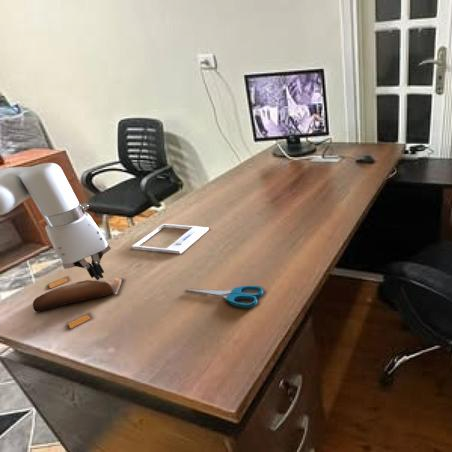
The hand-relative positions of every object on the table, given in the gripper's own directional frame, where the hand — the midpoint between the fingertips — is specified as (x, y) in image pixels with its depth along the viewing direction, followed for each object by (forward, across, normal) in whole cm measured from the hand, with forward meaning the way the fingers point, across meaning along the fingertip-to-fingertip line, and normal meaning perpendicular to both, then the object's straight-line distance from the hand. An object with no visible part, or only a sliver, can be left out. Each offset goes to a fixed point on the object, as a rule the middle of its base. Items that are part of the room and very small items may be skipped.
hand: (98, 276), depth 92 cm
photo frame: (+4, -23, -9) cm, 25 cm away
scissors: (+4, -19, +30) cm, 35 cm away
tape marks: (+3, +8, -1) cm, 9 cm away
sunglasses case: (+3, +5, 0) cm, 6 cm away
